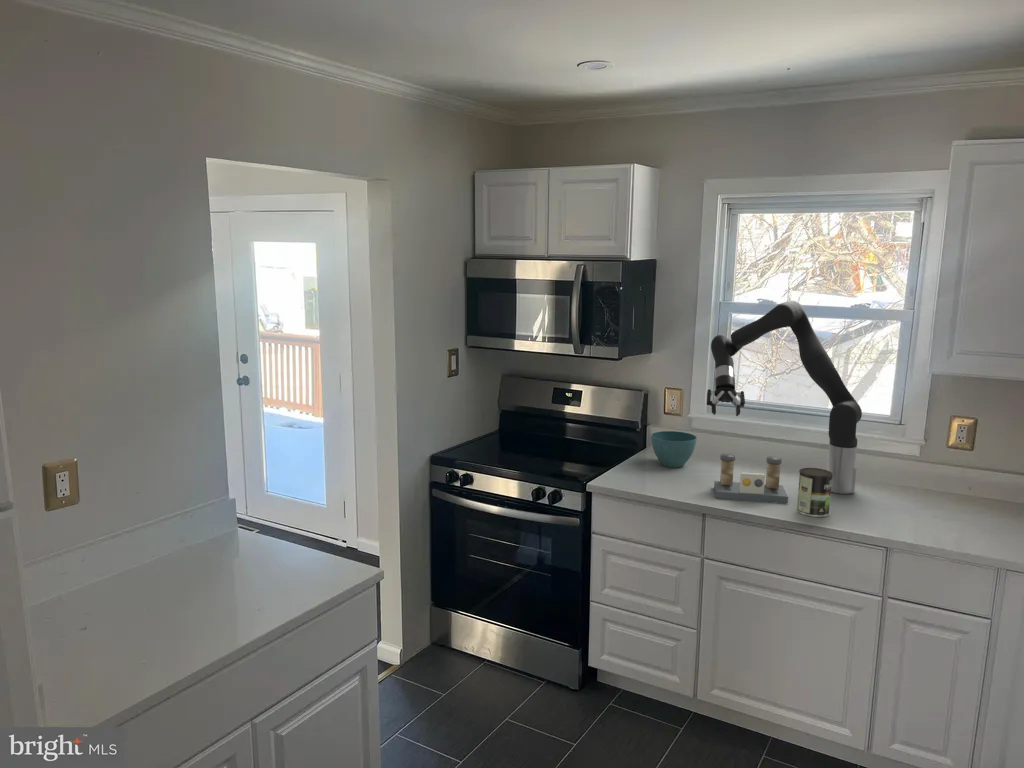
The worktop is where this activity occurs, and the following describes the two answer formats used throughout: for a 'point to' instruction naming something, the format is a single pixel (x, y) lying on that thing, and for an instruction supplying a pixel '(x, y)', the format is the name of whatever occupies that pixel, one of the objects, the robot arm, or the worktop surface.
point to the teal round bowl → (673, 447)
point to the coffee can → (814, 492)
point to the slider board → (750, 490)
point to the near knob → (773, 472)
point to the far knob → (727, 469)
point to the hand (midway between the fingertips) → (726, 414)
